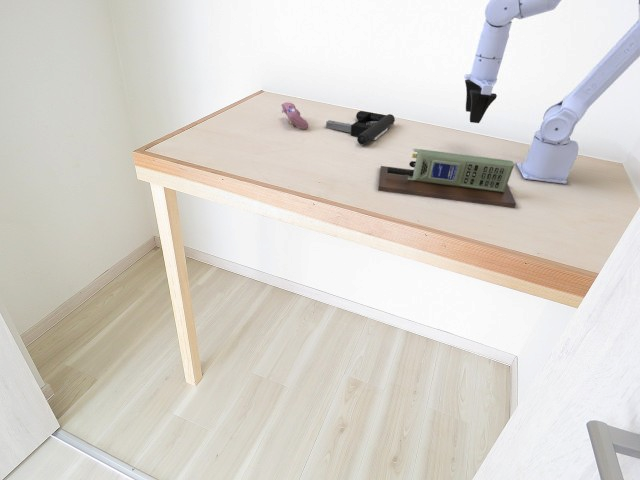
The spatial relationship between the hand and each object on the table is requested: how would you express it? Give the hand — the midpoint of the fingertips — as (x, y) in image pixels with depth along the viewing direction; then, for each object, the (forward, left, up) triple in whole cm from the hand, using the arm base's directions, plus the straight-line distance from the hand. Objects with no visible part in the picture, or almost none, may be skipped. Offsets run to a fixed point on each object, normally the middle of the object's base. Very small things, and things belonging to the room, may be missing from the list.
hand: (472, 116), depth 100 cm
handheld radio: (+6, +19, -9) cm, 22 cm away
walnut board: (+6, +19, -10) cm, 22 cm away
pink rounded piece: (+45, -8, -10) cm, 47 cm away
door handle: (+27, -9, -10) cm, 30 cm away
